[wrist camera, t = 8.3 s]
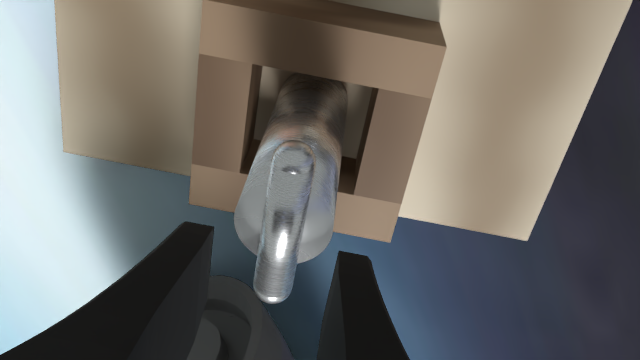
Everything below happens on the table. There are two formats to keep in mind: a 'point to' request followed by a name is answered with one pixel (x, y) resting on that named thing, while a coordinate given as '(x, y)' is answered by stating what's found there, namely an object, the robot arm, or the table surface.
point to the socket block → (322, 61)
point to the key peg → (293, 183)
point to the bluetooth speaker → (236, 326)
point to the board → (360, 96)
